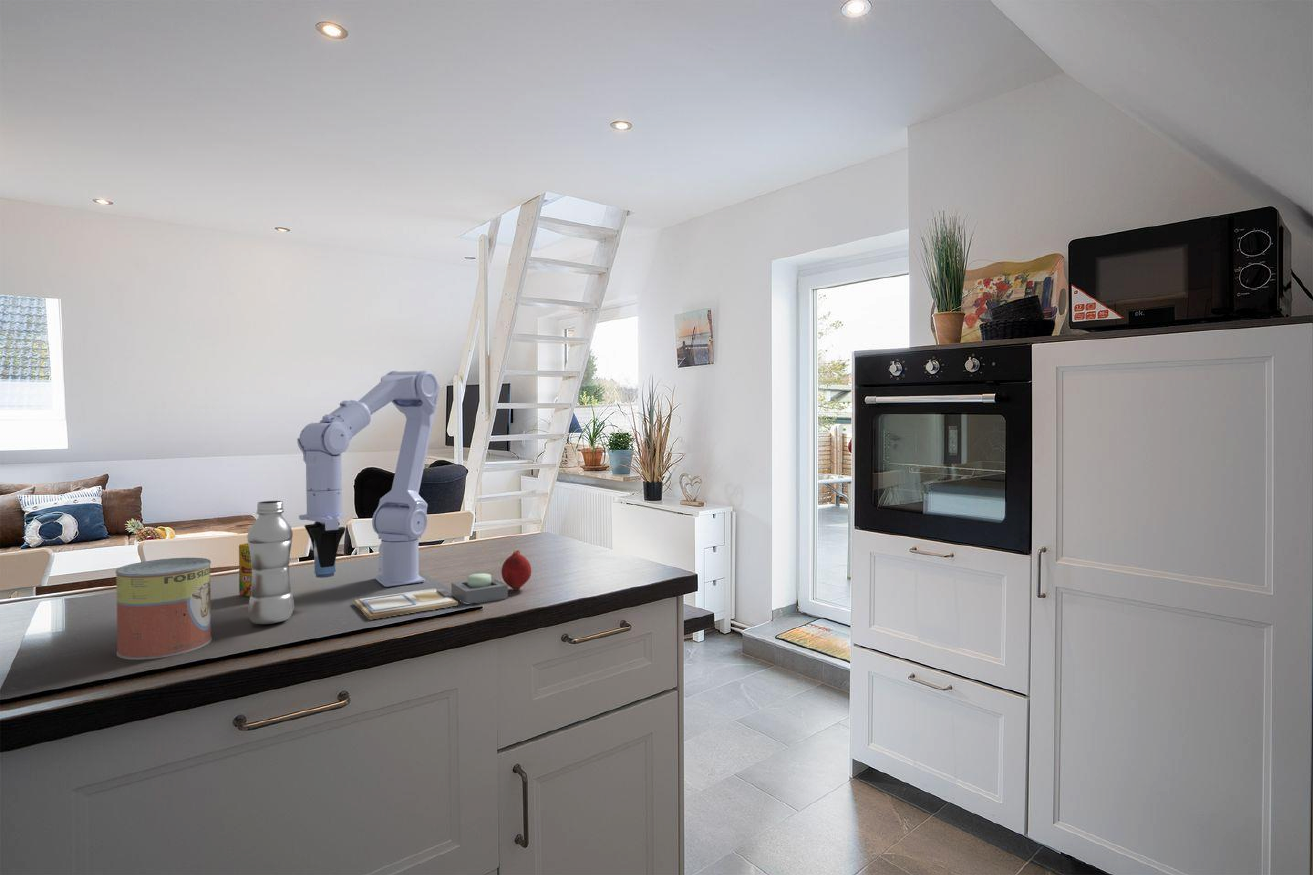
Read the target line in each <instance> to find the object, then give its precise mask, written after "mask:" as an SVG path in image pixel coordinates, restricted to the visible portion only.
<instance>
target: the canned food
mask: <svg viewBox="0 0 1313 875" xmlns="http://www.w3.org/2000/svg"><path fill="white" fill-rule="evenodd" d="M211 564H212V561H211V559H208V558H204V557H172V558H170V557H169V558H161V559H153V560H152V559H151V560H147V561H140V562H135V563H130V564H127V565H123V566H121V567H118V568H117V569H115V575H116V630H117V631H116V635H117V637H116V638H117V640H116V642H117V644H116V645H117V650H116V656H117V657H118V658H120V659H124V660H131V661H132V660H133V661H136V660H137V661H140V660H143V661H145V660H155V659H163V658H168V657H169V658H170V657H174V656H178V655H182V654H186V653H190V652H193V651H195V650H198V649H201V648H203V647H205V646H208V645H209V644H210V643H211V642H212V640H213V638H212V628H211V627H212V625H211V623H212V620H211V619H212V618H211V617H212V616H211V614H212V612H211V607H212V605H211Z"/></svg>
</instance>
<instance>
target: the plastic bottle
mask: <svg viewBox="0 0 1313 875" xmlns="http://www.w3.org/2000/svg"><path fill="white" fill-rule="evenodd" d="M284 511H285V510H284V501H283V500H265V501H264V500H263V501H258V502H257V510H256V515H258V516H257V519H256V520H255V521H254V522H253V523H252V524H251V527H250V528H249V530H248V533H247V535H246V538H247V543H248V545H249V551H250V556H251V566H252V586H251V597H249V600H248V607H247V608H248V609H247V612H248V616H249V619H250V621H251V622H252V623H254V624H258V625H272V624H277V623H280V622H284V621H286V620H288V619H290V618H291V617H292V615H293V613H294V608H295V602H294V594H293V592H292V586H291V576H290V561H291V560H290V559H291V558H290V556H291V550H292V549H291V548H292V542H293V530H292V529H293V528H292V527H291V526H290V524H289V523H288V521H287V520H286V519H285V518H284V517H283V513H284Z"/></svg>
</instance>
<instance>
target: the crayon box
mask: <svg viewBox="0 0 1313 875" xmlns="http://www.w3.org/2000/svg"><path fill="white" fill-rule="evenodd" d="M251 586H252V566H251V556H250V551H249V545H248V542H247V543H241V544H239V545H238V587H239V588H238V589H239V590H238V592H239V596H243V597H249V598H250V597H251Z"/></svg>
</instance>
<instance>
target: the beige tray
mask: <svg viewBox="0 0 1313 875" xmlns="http://www.w3.org/2000/svg"><path fill="white" fill-rule="evenodd" d="M353 601H354V602H353V604H354V606H355V607H356V608H357V609H358V610H359V611H360V610H361V611H362V612H363V613H364V614H363V613H362V612H361V611H360V612H361V613H362V614H363V615H364V616H365V617H366V618H367V619H368V621H370V620H371V621H374V620H373V619H377V620H379V619H378V618H383V619H385V618H384V617H389V616H393V615H400V614H406V613H411V612H418V611H423V610H433V611H436V610H435V609H439V608H443V607H449V606H455V605H458V606H459V601H458V600H457V599H455V598H454V597H453V596H452V594H451V593H450V592H449V591H447V590H446V589H443V588H440V589H439V588H437V587H436V588H435V587H434V588H426V589H420V590H413V591H408V592H400V593H392V594H386V595H385V594H383V595H378V596H372V597H365V598H363V597H362V598H357V599H354V600H353ZM439 610H440V609H439ZM389 618H390V617H389Z"/></svg>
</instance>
